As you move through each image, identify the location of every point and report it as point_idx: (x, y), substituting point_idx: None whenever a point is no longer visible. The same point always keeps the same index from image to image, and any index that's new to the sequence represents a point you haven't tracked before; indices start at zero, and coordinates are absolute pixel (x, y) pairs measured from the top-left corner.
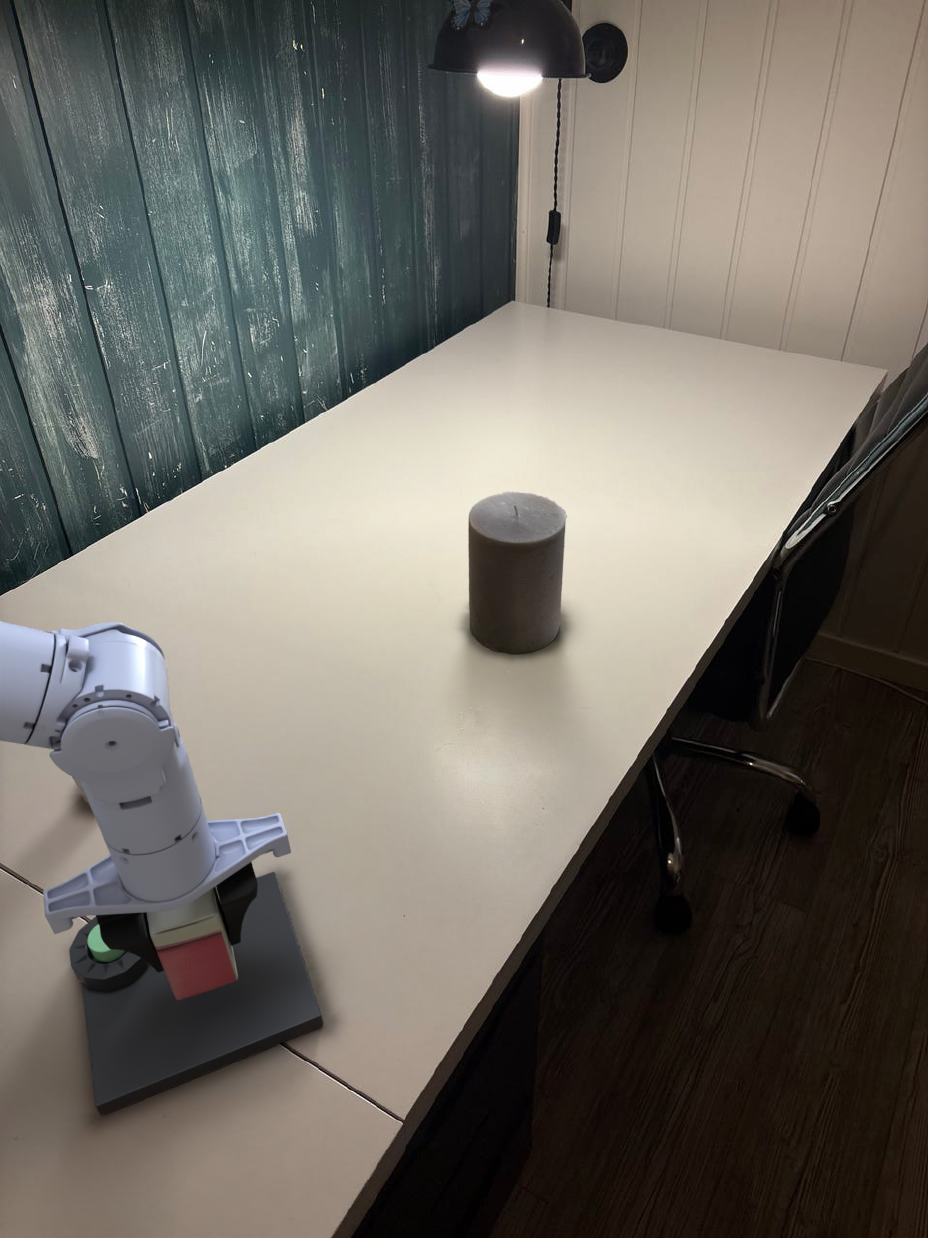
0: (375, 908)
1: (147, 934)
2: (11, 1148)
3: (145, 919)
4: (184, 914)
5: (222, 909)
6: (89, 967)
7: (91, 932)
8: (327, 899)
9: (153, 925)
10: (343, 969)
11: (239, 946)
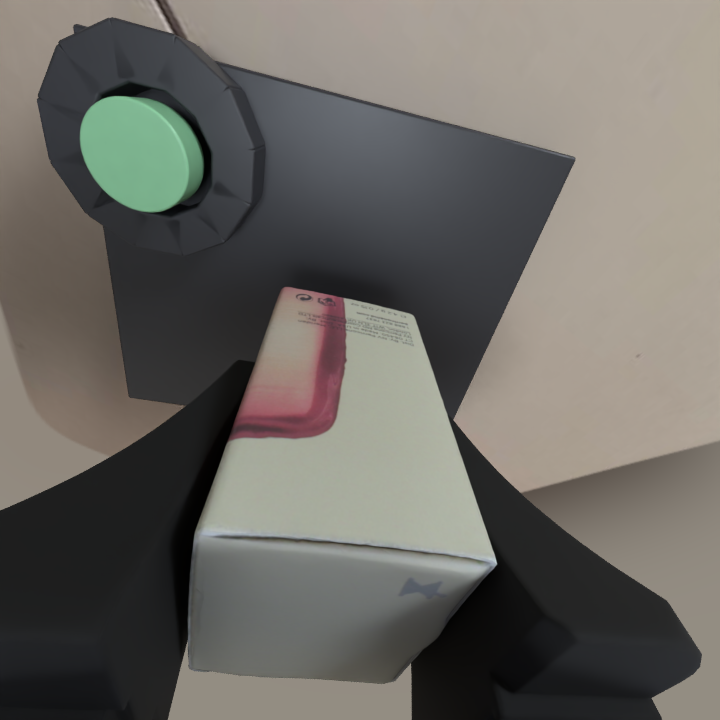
0: (623, 321)
1: (182, 653)
2: (15, 354)
3: (185, 599)
4: (307, 667)
5: (412, 712)
6: (99, 194)
7: (89, 118)
8: (588, 259)
9: (204, 657)
10: (509, 377)
11: (409, 291)
